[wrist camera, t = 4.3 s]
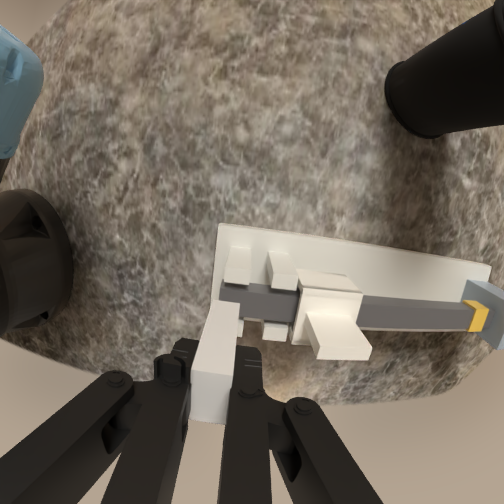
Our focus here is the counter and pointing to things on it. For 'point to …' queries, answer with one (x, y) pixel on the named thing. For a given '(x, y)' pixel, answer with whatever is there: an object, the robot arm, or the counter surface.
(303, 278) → the sleeve
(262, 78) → the counter surface
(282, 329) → the grey rod on board
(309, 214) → the counter surface
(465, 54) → the aerosol can
